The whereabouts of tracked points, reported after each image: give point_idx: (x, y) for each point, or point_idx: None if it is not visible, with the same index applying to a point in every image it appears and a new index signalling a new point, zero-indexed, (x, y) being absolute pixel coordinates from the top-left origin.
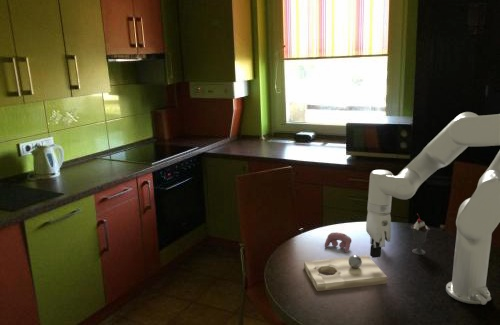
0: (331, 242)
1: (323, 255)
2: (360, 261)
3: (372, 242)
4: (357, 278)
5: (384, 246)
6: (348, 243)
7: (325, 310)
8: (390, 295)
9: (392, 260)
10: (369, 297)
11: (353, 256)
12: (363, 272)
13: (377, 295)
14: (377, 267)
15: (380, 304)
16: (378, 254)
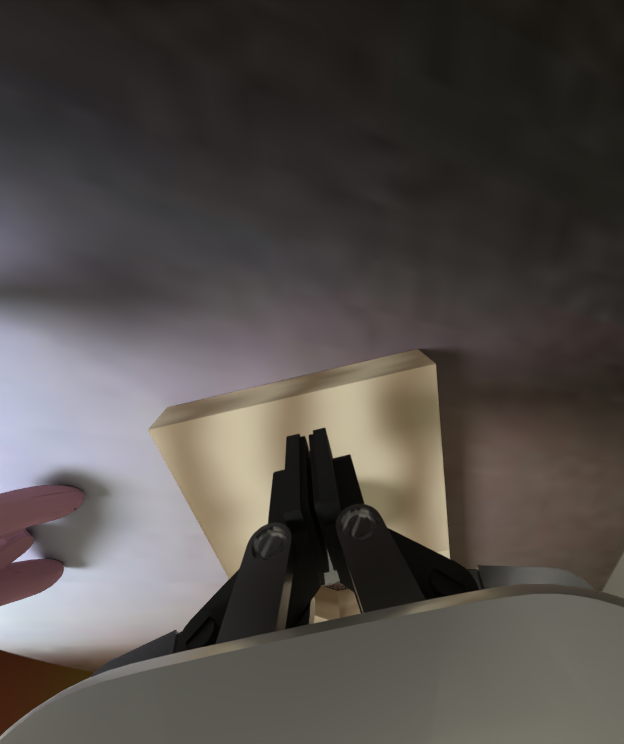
0: (9, 564)
1: (147, 571)
2: None
3: (312, 617)
4: (433, 503)
5: (582, 586)
6: (17, 520)
7: None
8: (534, 352)
9: (112, 245)
10: (524, 443)
11: (331, 583)
12: (375, 474)
13: (518, 410)
14: (316, 397)
15: (590, 410)
16: (352, 467)
